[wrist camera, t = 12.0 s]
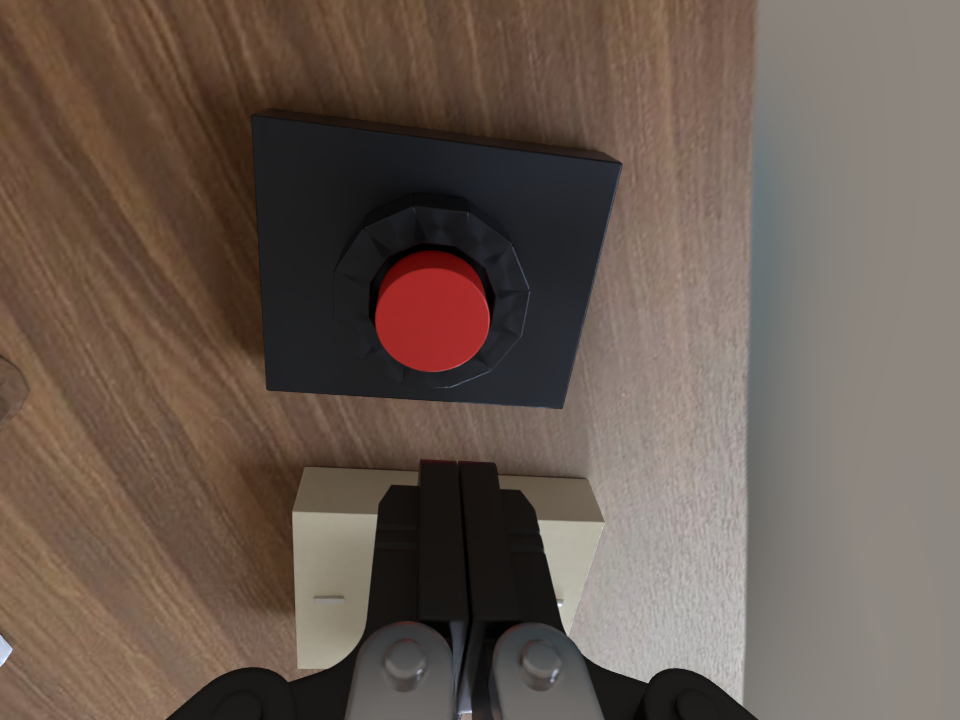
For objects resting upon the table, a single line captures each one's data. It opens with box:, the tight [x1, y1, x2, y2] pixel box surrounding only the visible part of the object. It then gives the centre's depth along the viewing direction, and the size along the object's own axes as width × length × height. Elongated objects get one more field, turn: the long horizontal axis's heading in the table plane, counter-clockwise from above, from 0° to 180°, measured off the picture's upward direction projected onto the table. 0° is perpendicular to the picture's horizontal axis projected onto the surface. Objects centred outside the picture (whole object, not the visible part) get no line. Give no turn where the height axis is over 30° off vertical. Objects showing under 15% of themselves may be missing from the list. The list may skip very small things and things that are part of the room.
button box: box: [251, 108, 622, 409], centre depth 20 cm, size 12×10×4 cm
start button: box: [375, 250, 490, 372], centre depth 18 cm, size 4×4×2 cm
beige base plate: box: [292, 467, 605, 669], centre depth 29 cm, size 14×12×3 cm
